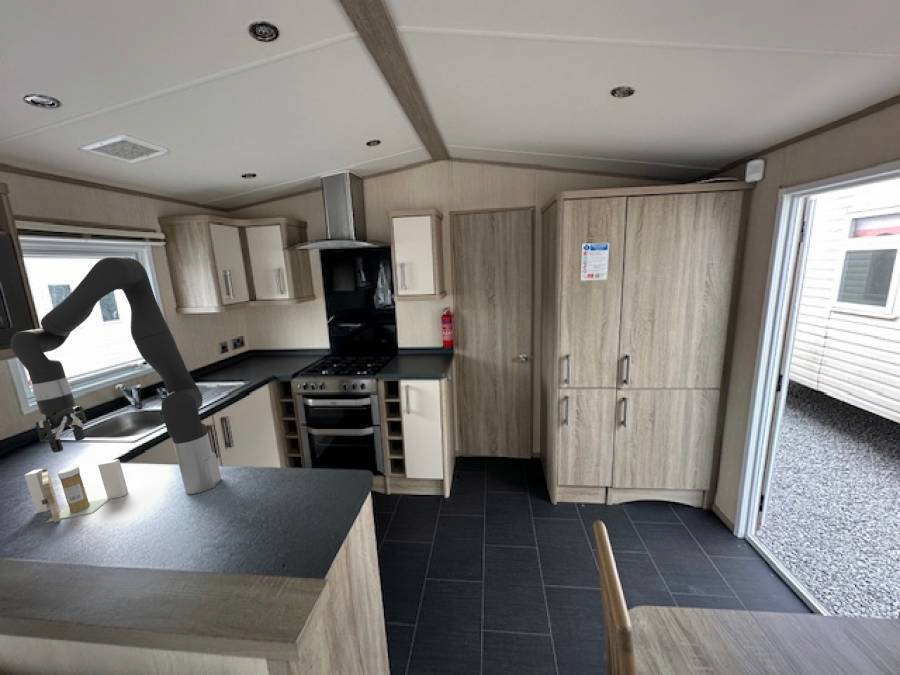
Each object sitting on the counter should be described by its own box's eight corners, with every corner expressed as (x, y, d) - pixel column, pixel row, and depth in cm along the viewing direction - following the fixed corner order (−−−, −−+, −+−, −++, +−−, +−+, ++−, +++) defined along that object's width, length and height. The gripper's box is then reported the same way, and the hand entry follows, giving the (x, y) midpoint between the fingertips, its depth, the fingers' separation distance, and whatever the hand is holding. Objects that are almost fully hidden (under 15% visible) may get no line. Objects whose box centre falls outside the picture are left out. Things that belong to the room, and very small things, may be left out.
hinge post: (55, 505, 120) (44, 468, 118) (47, 511, 117) (35, 473, 115) (44, 507, 120) (33, 470, 117) (36, 513, 117) (24, 475, 114)
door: (60, 521, 110) (48, 481, 108) (49, 526, 108) (35, 485, 106) (59, 505, 120) (47, 468, 117) (48, 509, 118) (36, 471, 116)
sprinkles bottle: (93, 502, 118) (81, 463, 116) (85, 510, 114) (72, 470, 112) (75, 507, 117) (63, 467, 115) (66, 515, 113) (53, 474, 110)
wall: (128, 492, 123) (119, 459, 121) (124, 495, 121) (114, 461, 119) (112, 495, 122) (102, 461, 120) (107, 499, 120) (97, 464, 118)
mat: (110, 498, 121) (110, 497, 121) (92, 513, 113) (92, 512, 113) (68, 506, 119) (68, 505, 118) (46, 522, 111) (46, 521, 111)
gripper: (48, 400, 105) (65, 453, 107) (86, 386, 119) (100, 433, 121) (17, 404, 103) (35, 458, 106) (59, 390, 117) (74, 438, 120)
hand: (70, 445), depth 114 cm, fingers open, 8 cm apart
